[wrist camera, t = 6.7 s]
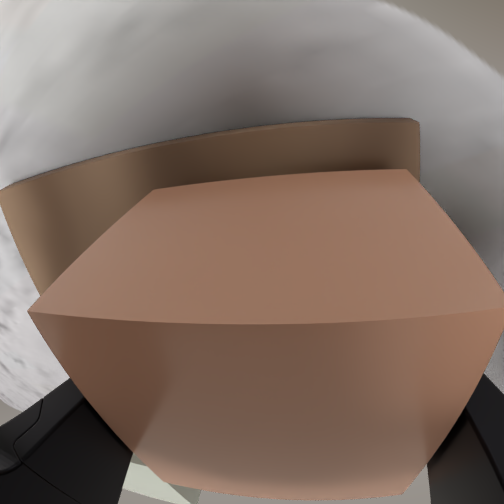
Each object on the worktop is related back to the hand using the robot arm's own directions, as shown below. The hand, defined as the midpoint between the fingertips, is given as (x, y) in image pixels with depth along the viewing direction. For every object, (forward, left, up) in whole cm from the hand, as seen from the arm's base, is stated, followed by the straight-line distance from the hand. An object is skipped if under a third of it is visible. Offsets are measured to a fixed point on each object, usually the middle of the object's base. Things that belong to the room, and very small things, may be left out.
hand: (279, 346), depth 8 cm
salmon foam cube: (0, 0, -2) cm, 2 cm away
